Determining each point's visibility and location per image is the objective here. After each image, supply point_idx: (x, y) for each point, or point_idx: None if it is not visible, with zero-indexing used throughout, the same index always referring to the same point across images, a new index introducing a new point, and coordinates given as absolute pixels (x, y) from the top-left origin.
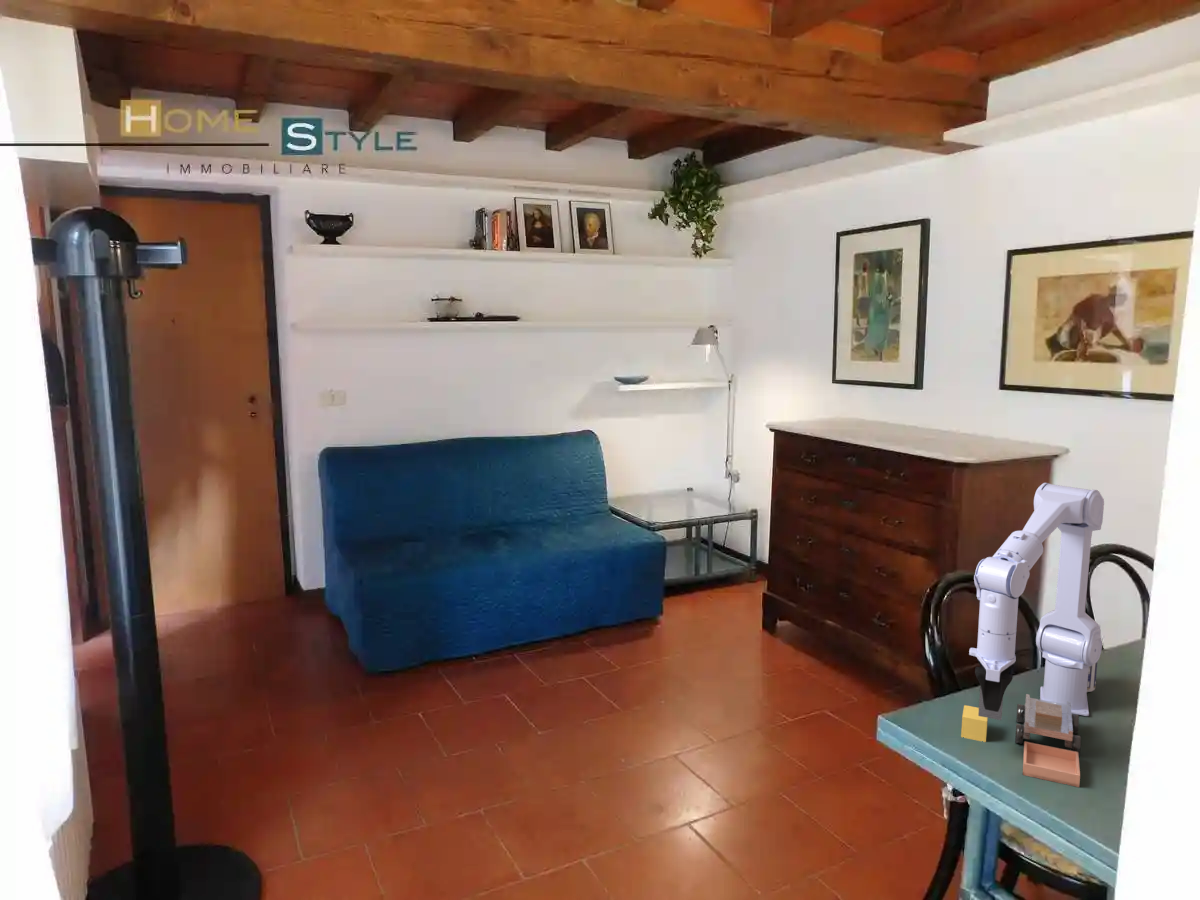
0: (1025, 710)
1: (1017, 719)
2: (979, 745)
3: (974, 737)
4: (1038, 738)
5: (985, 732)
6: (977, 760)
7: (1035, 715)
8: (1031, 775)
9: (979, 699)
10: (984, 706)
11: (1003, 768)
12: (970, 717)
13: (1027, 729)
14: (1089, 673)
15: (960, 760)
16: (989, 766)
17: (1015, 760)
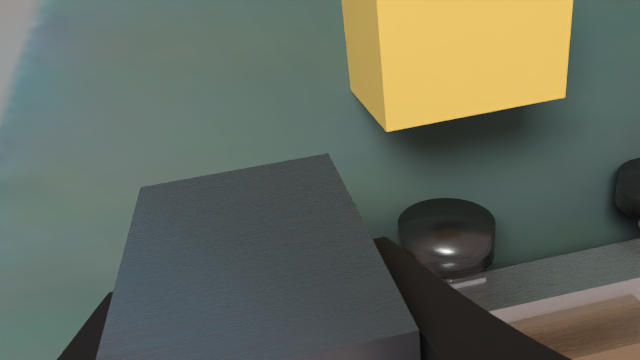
0: (580, 291)
1: (620, 179)
2: (295, 72)
3: (347, 36)
4: (503, 263)
5: (366, 102)
6: (115, 102)
7: (545, 333)
8: None
9: (116, 285)
10: (99, 306)
11: (125, 221)
12: (392, 25)
13: None
14: None
15: (41, 23)
16: (95, 166)
17: None
